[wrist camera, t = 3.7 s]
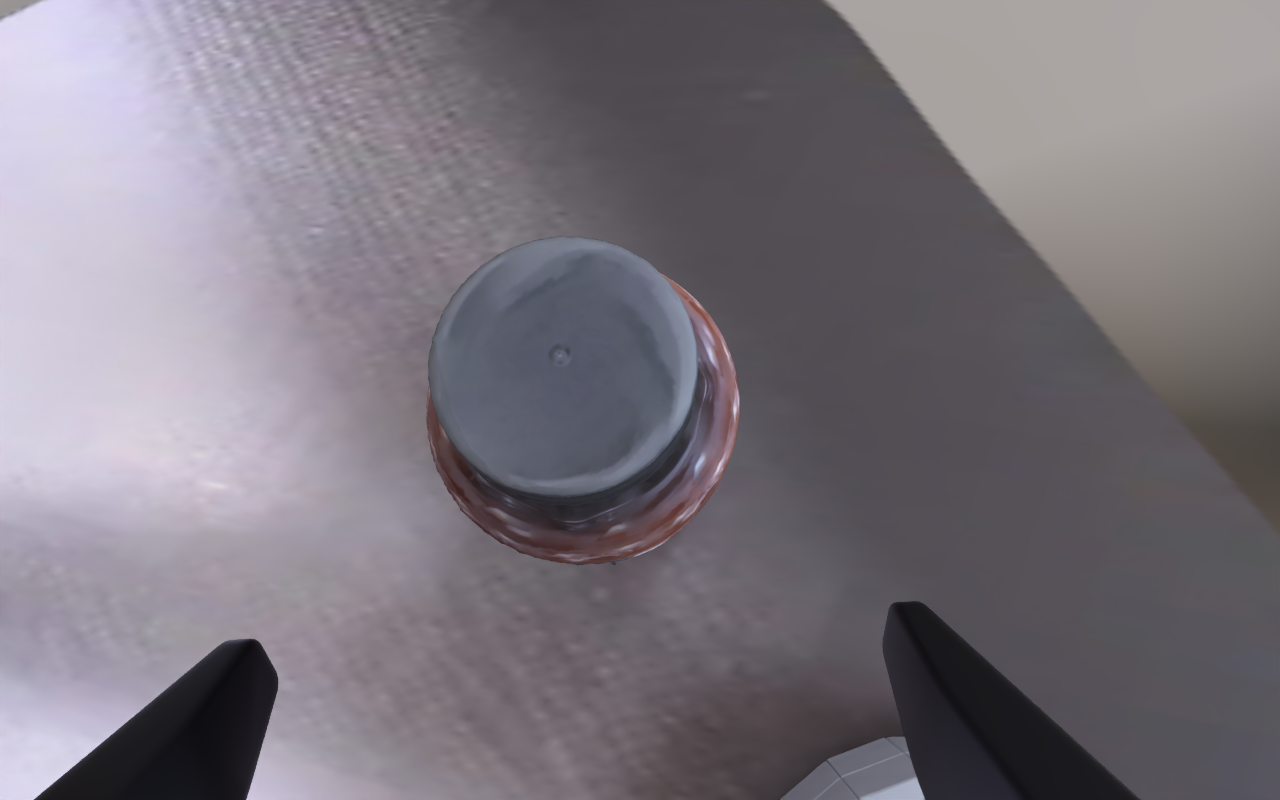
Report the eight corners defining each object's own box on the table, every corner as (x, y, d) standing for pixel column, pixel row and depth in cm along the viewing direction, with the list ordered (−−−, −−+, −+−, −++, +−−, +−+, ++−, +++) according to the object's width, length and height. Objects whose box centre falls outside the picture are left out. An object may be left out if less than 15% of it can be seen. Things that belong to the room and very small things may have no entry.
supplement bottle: (477, 478, 21) (265, 388, 10) (598, 333, 22) (532, 100, 11) (628, 603, 20) (585, 662, 9) (747, 445, 21) (848, 317, 10)
